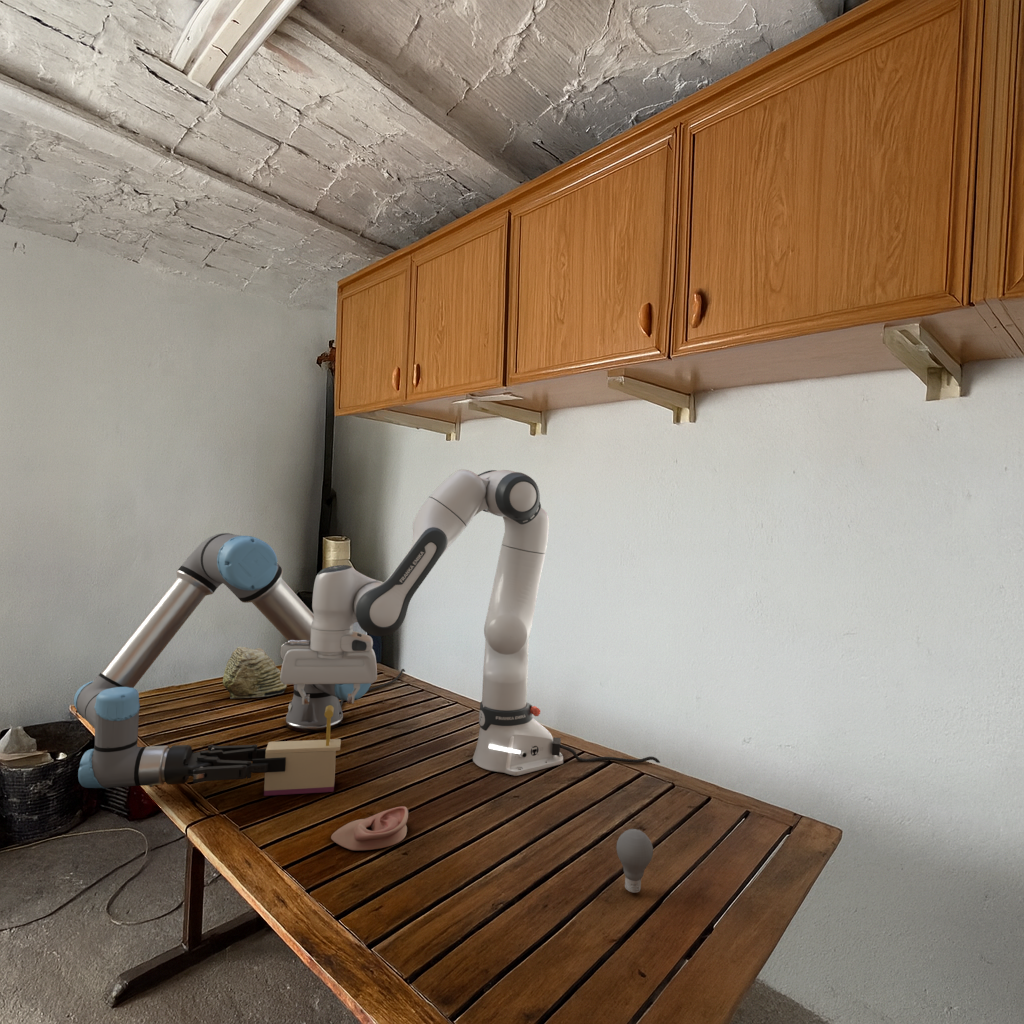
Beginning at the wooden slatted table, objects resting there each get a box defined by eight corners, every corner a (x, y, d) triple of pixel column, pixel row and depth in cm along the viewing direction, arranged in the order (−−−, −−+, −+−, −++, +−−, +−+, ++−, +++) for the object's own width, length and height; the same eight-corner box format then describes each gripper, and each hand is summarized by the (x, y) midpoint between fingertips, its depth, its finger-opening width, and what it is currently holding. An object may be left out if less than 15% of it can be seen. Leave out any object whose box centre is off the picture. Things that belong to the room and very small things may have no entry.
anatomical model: (323, 824, 115) (352, 795, 126) (322, 845, 115) (351, 815, 126) (392, 835, 112) (415, 805, 123) (391, 857, 112) (414, 825, 123)
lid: (340, 742, 141) (342, 703, 141) (339, 750, 136) (341, 710, 136) (268, 745, 137) (270, 705, 137) (265, 753, 133) (267, 712, 133)
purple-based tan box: (334, 782, 141) (336, 742, 141) (333, 791, 136) (335, 751, 136) (267, 786, 138) (268, 745, 137) (263, 795, 133) (265, 754, 133)
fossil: (218, 695, 195) (220, 647, 195) (278, 685, 208) (279, 640, 207) (228, 703, 189) (230, 653, 188) (289, 692, 201) (290, 645, 201)
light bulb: (610, 879, 108) (613, 822, 108) (644, 879, 109) (647, 822, 109) (619, 902, 102) (622, 840, 102) (655, 901, 103) (658, 840, 103)
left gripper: (179, 765, 139) (290, 759, 145) (153, 803, 122) (280, 795, 128) (180, 731, 139) (292, 727, 145) (154, 764, 122) (282, 758, 127)
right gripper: (279, 643, 132) (275, 709, 132) (379, 643, 137) (375, 707, 137) (282, 636, 138) (279, 699, 138) (378, 637, 143) (375, 697, 143)
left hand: (286, 759), depth 136 cm, fingers closed on purple-based tan box, 4 cm apart
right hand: (328, 703), depth 138 cm, fingers open, 8 cm apart
